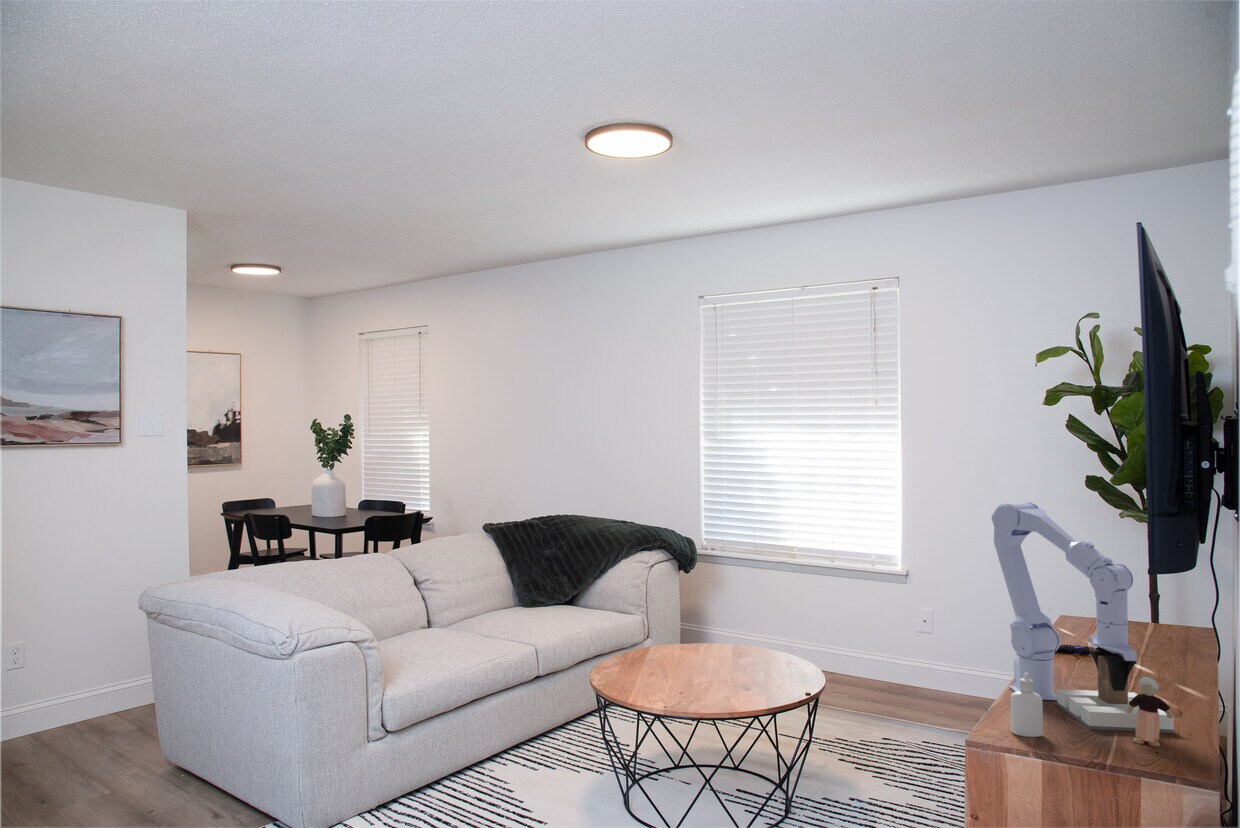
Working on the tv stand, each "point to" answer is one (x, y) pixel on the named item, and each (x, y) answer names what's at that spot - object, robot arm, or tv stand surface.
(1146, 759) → the tv stand surface
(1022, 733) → the eye dropper bottle
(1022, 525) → the robot arm
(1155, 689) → the grandmother figurine
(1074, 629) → the tv stand surface
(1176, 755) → the tv stand surface
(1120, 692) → the walnut pin
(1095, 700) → the socket block
